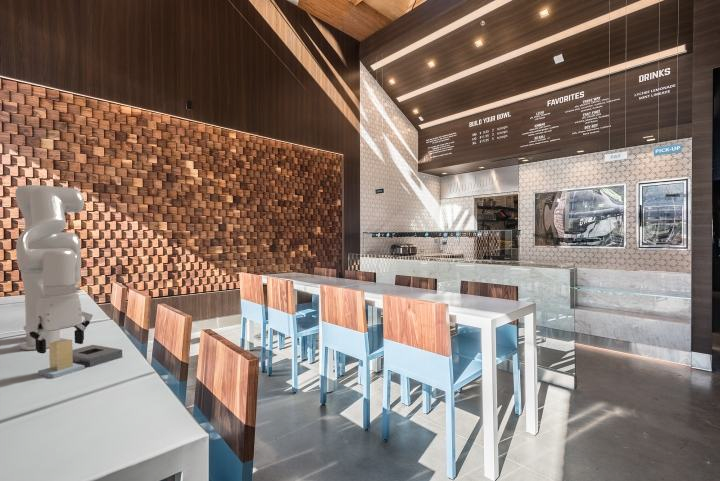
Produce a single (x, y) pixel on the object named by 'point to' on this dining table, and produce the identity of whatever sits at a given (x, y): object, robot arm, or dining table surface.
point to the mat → (62, 372)
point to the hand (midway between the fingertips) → (61, 347)
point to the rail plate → (95, 355)
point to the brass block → (60, 354)
